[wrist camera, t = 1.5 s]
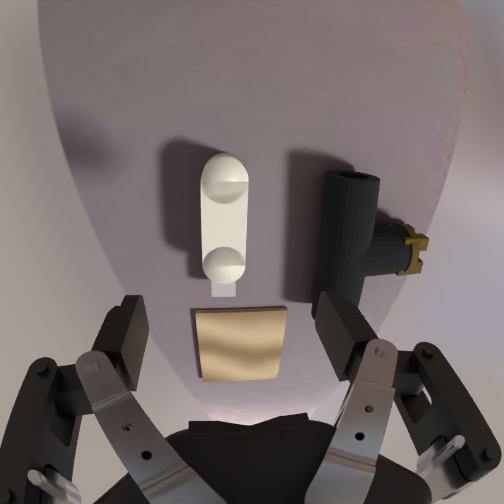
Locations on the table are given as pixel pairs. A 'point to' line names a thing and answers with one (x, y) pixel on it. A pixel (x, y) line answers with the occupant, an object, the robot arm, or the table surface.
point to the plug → (224, 222)
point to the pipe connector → (359, 238)
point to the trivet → (240, 343)
